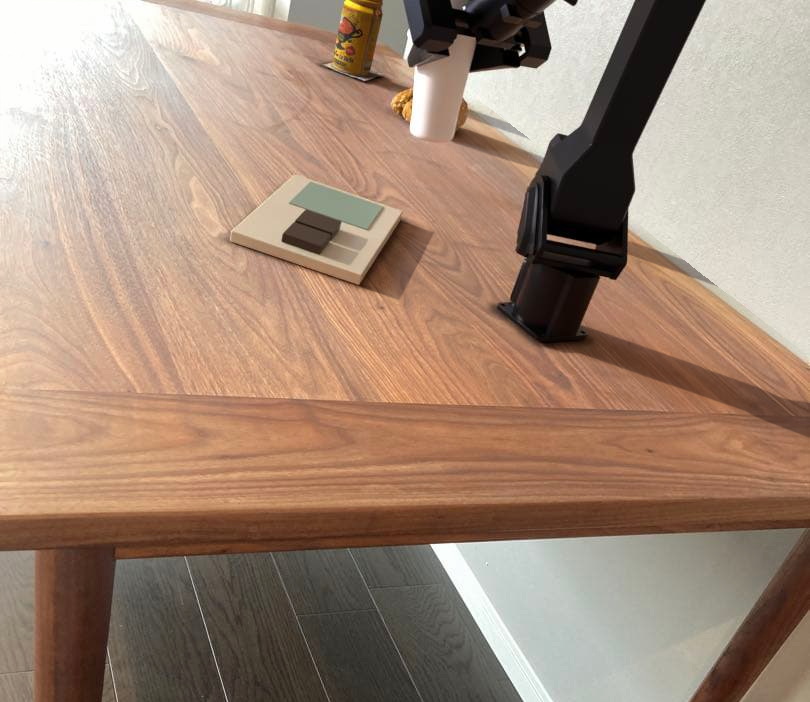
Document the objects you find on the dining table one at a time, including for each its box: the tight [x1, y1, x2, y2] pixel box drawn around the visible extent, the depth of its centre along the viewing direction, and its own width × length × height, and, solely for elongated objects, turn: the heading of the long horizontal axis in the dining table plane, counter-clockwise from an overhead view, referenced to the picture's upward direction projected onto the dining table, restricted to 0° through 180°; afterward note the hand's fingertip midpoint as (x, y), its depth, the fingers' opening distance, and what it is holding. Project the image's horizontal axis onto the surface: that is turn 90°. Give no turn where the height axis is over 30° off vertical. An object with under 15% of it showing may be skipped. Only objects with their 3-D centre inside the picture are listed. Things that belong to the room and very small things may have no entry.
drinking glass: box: [409, 0, 476, 144], centre depth 104 cm, size 7×7×15 cm
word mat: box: [229, 173, 404, 286], centre depth 88 cm, size 20×12×2 cm, turn 169°
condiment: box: [321, 0, 384, 82], centre depth 141 cm, size 7×8×12 cm
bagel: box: [390, 87, 469, 132], centre depth 130 cm, size 10×11×5 cm
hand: (432, 66), depth 105 cm, fingers closed on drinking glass, 6 cm apart
